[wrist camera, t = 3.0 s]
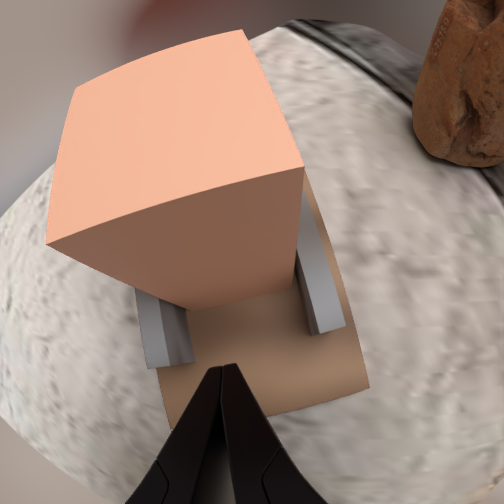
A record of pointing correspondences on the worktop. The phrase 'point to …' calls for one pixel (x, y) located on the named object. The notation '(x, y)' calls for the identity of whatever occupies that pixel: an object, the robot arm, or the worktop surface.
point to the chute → (264, 334)
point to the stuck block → (181, 176)
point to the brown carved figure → (463, 85)
